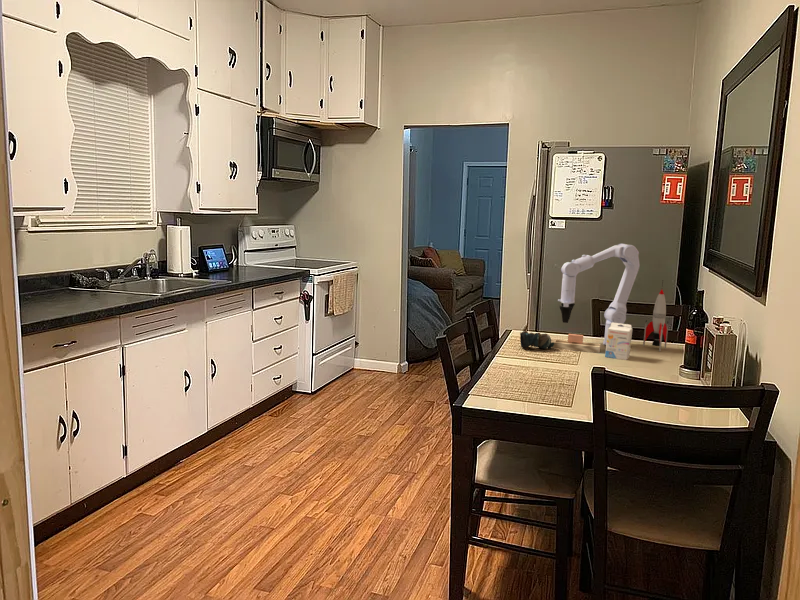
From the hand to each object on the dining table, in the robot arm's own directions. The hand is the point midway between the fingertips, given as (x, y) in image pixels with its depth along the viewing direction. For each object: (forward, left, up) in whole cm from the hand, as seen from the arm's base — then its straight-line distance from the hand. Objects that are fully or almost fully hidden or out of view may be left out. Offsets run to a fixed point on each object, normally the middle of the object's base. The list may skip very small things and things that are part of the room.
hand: (565, 321), depth 266 cm
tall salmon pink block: (-5, +9, -9) cm, 14 cm away
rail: (-5, +9, -10) cm, 14 cm away
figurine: (+10, +17, -10) cm, 22 cm away
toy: (-38, -7, -10) cm, 40 cm away
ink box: (-22, +15, -10) cm, 29 cm away
